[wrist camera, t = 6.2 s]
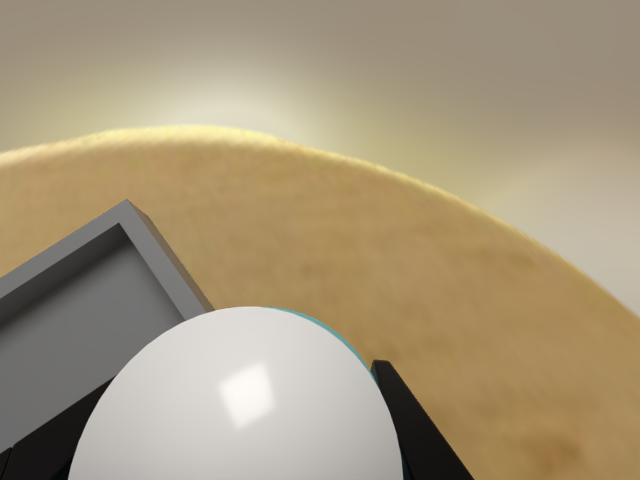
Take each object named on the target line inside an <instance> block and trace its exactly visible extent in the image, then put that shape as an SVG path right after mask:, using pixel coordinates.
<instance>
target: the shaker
mask: <svg viewBox="0 0 640 480" xmlns="http://www.w3.org/2000/svg"><path fill="white" fill-rule="evenodd" d="M68 480H403V471H402V460H401V454H400V449H399V444H398V439H397V434H396V431H395V428H394V425H393V421H392V418H391V415H390V412H389V410H388V407H387V405H386V403H385V401H384V399H383V396H382V394H381V392H380V390H379V388H378V386H377V383H376V381H375V379H374V377H373V375H372V373H371V372H370V370H369V369H368V367H367V365H366V364H365V362H364V361H363V359H362V358H361V357H360V355H359V354H358V353H357V352H356V350H355V349H354V348H353V347H352V346H351V345H350V344H349V343H348V342H347V341H346V340H345V339H344V338H343V337H342V336H341V335H339V334H338V333H337V332H335V331H334V330H333V329H331V328H330V327H329V326H327V325H325V324H324V323H322V322H320V321H318V320H316V319H315V318H312V317H310V316H307V315H305V314H302V313H300V312H296V311H292V310H288V309H283V308H274V307H234V308H227V309H221V310H216V311H213V312H209V313H206V314H202V315H199V316H197V317H194V318H192V319H189V320H187V321H185V322H182V323H180V324H179V325H177V326H175V327H173V328H172V329H170V330H168V331H166V332H164V333H163V334H162V335H160V336H159V337H157V338H156V339H155V340H153V341H152V342H151V343H149V344H148V345H146V346H145V347H144V348H143V349H142V350H141V351H140V352H139V353H138V354H137V355H136V356H134V357H133V358H132V359H131V360H130V361H129V362H128V363H127V365H126V366H125V367H124V368H123V369H122V370H121V371H120V372H119V374H118V375H117V376H116V377H115V378H114V380H113V381H112V382H111V384H110V385H109V387H108V388H107V389H106V391H105V392H104V394H103V395H102V397H101V398H100V400H99V402H98V403H97V405H96V407H95V409H94V410H93V412H92V414H91V416H90V418H89V419H88V422H87V424H86V426H85V429H84V431H83V433H82V436H81V438H80V440H79V442H78V446H77V449H76V452H75V455H74V458H73V461H72V464H71V468H70V473H69V477H68Z"/></svg>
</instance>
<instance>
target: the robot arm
mask: <svg viewBox="0 0 640 480" xmlns="http://www.w3.org/2000/svg"><path fill="white" fill-rule="evenodd" d="M371 373H372V375H373V377H374V379H375V381H376V383H377V386H378V388H379V390H380V392H381V394H382V396H383V399H384V401H385V403H386V405H387V407H388V410H389V412H390V415H391V418H392V421H393V425H394V428H395V431H396V434H397V439H398V444H399V449H400V454H401V460H402V471H403V480H474V478H473V477H472V476H471V474H470V473H469V471H468V470H467V469H466V467H465V466H464V465H463V463H462V462H461V460H460V459H459V458H458V456H457V455H456V453H455V452H454V451H453V449H452V448H451V446H450V445H449V444H448V442H447V441H446V440H445V438H444V437H443V435H442V434H441V433H440V431H439V430H438V428H437V427H436V426H435V424H434V423H433V421H432V420H431V419H430V417H429V416H428V415H427V413H426V412H425V410H424V409H423V408H422V406H421V405H420V403H419V402H418V401H417V399H416V398H415V396H414V395H413V394H412V392H411V391H410V390H409V388H408V387H407V385H406V384H405V383H404V381H403V380H402V378H401V377H400V376H399V374H398V373H397V372H396V370H395V369H394V367H393V366H392V365H391V363H390V362H389V361H385V360H374V361H373V362H372V367H371ZM118 374H119V373H118ZM118 374H117V375H118ZM117 375H115V376H114V377H112V378H111V379H109V380H108V381H106V382H105V383H103V384H102V385H101V386H99V387H98V388H96V389H95V390H93V391H92V392H90V393H89V394H87V395H86V396H84V397H83V398H81V399H80V400H78V401H77V402H75V403H74V404H72V405H71V406H69V407H68V408H67V409H65V410H64V411H62V412H61V413H59V414H58V415H56V416H55V417H53V418H52V419H50V420H49V421H47V422H46V423H44V424H43V425H41V426H40V427H38V428H37V429H35V430H34V431H33V432H31V433H30V434H28V435H27V436H25V437H24V438H22V439H21V440H19V441H18V442H16V443H15V444H14V445H13V447H9V448H7V449H6V450H4V451H3V452H1V453H0V480H68V477H69V473H70V468H71V464H72V461H73V458H74V455H75V452H76V449H77V446H78V442H79V440H80V438H81V436H82V433H83V431H84V429H85V426H86V424H87V422H88V419H89V418H90V416H91V414H92V412H93V410H94V409H95V407H96V405H97V403H98V402H99V400H100V398H101V397H102V395H103V394H104V392H105V391H106V389H107V388H108V387H109V385H110V384H111V382H112V381H113V380H114V378H115V377H116V376H117Z"/></svg>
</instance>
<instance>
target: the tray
mask: <svg viewBox="0 0 640 480" xmlns="http://www.w3.org/2000/svg"><path fill="white" fill-rule="evenodd" d="M213 311H215V309H214V308H213V306H212V305H211V304H210V302H209V301H208V299H207V298H206V297H205V295H204V294H203V292H202V291H201V290H200V288H199V287H198V285H197V284H196V283H195V281H194V280H193V278H192V277H191V276H190V274H189V273H188V271H187V270H186V269H185V267H184V266H183V264H182V263H181V262H180V260H179V259H178V257H177V256H176V255H175V253H174V252H173V250H172V249H171V248H170V246H169V245H168V243H167V242H166V241H165V239H164V238H163V236H162V235H161V234H160V232H159V231H158V229H157V228H156V227H155V225H154V224H153V222H152V221H151V220H150V218H149V217H148V216H147V215H146V214H144V213H143V212H142V211H141V210H139V209H138V208H137V207H136V206H135V205H133V204H132V203H131V202H130V201H129V200H127V199H126V200H124V201H123V202H121V203H119V204H118V205H116V206H115V207H113V208H111V209H110V210H108V211H107V212H105V213H103V214H102V215H100V216H99V217H97V218H96V219H94V220H92V221H91V222H89V223H88V224H86V225H84V226H83V227H81V228H80V229H78V230H76V231H75V232H73V233H72V234H70V235H68V236H67V237H65V238H64V239H62V240H60V241H59V242H57V243H56V244H54V245H52V246H51V247H49V248H48V249H46V250H44V251H43V252H41V253H40V254H38V255H36V256H35V257H33V258H32V259H30V260H29V261H27V262H25V263H24V264H22V265H21V266H19V267H17V268H16V269H14V270H13V271H11V272H9V273H8V274H6V275H5V276H3V277H1V278H0V453H1V452H3V451H4V450H6V449H7V448H9V447H13V445H14V444H15V443H16V442H18V441H19V440H21V439H22V438H24V437H25V436H27V435H28V434H30V433H31V432H33V431H34V430H35V429H37V428H38V427H40V426H41V425H43V424H44V423H46V422H47V421H49V420H50V419H52V418H53V417H55V416H56V415H58V414H59V413H61V412H62V411H64V410H65V409H67V408H68V407H69V406H71V405H72V404H74V403H75V402H77V401H78V400H80V399H81V398H83V397H84V396H86V395H87V394H89V393H90V392H92V391H93V390H95V389H96V388H98V387H99V386H101V385H102V384H103V383H105V382H106V381H108V380H109V379H111V378H112V377H114V376H115V375H117V374H118V373H119V372H120V371H121V370H122V369H123V368H124V367H125V366H126V365H127V363H128V362H129V361H130V360H131V359H132V358H133V357H134V356H136V355H137V354H138V353H139V352H140V351H141V350H142V349H143V348H144V347H145V346H146V345H148V344H149V343H151V342H152V341H153V340H155V339H156V338H157V337H159V336H160V335H162V334H163V333H164V332H166V331H168V330H170V329H172V328H173V327H175V326H177V325H179V324H180V323H182V322H185V321H187V320H189V319H192V318H194V317H197V316H199V315H202V314H206V313H209V312H213Z"/></svg>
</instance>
